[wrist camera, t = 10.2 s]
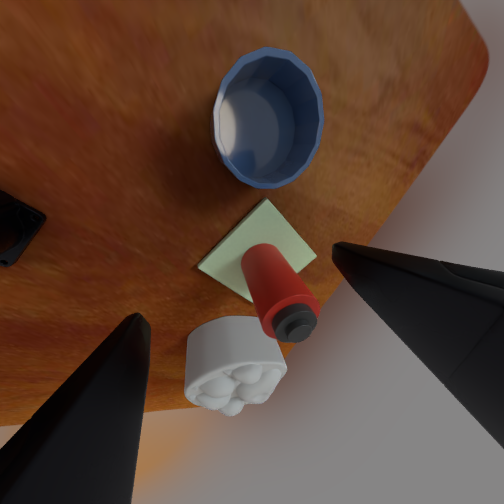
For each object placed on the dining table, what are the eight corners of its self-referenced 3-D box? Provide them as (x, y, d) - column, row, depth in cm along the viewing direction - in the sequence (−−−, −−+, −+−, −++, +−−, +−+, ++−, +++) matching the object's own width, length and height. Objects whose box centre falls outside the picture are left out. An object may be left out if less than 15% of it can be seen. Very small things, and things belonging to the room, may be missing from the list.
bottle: (259, 284, 25) (292, 362, 16) (231, 264, 22) (253, 344, 13) (288, 259, 24) (341, 326, 15) (263, 234, 21) (310, 298, 12)
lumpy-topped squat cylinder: (255, 356, 34) (270, 413, 27) (182, 359, 29) (176, 429, 22) (275, 317, 30) (300, 372, 23) (194, 313, 25) (192, 381, 18)
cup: (252, 196, 19) (265, 209, 16) (190, 128, 15) (186, 122, 11) (311, 137, 18) (340, 134, 14) (259, 44, 14) (281, 5, 10)
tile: (256, 302, 27) (258, 306, 27) (197, 264, 22) (197, 267, 21) (314, 253, 25) (317, 256, 25) (265, 196, 20) (267, 198, 19)
